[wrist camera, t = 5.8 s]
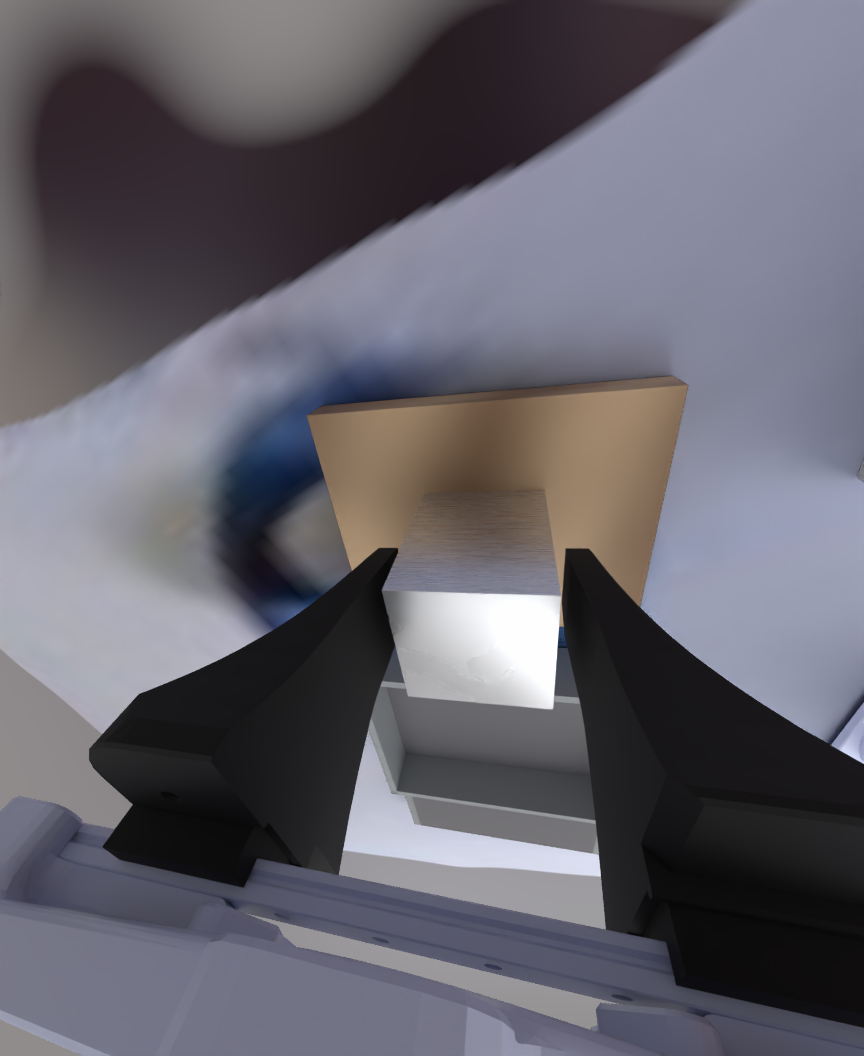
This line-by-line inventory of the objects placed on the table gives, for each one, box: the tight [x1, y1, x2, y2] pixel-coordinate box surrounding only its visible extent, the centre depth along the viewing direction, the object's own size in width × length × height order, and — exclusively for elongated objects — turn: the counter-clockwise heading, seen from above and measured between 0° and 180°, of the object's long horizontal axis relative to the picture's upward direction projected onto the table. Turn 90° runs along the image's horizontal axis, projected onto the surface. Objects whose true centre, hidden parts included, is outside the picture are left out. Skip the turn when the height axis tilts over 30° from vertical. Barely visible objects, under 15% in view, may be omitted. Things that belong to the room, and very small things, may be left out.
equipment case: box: [368, 646, 599, 855], centre depth 22 cm, size 13×19×2 cm
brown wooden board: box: [307, 376, 688, 627], centre depth 14 cm, size 11×9×1 cm
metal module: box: [382, 490, 561, 709], centre depth 12 cm, size 4×4×5 cm
